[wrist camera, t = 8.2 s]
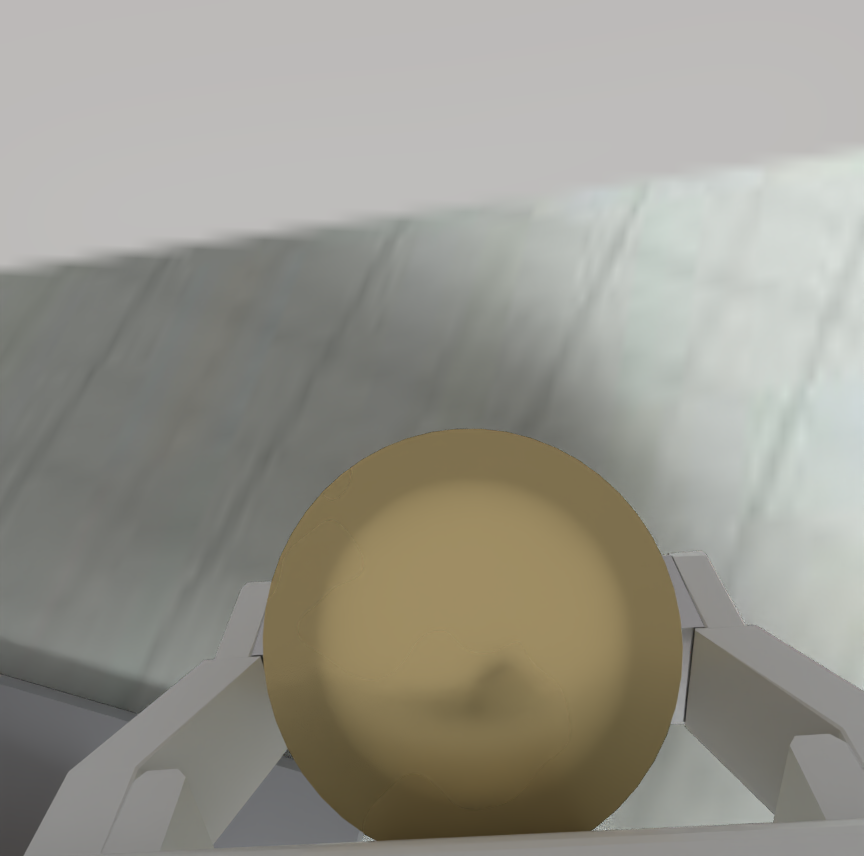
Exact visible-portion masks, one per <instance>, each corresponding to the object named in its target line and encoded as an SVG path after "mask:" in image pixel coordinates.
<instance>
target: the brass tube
mask: <svg viewBox="0 0 864 856" xmlns="http://www.w3.org/2000/svg"><path fill="white" fill-rule="evenodd" d="M682 654H683V643H682V631H681V619H680V614H679V609H678V604H677V599H676V595H675V590H674V587H673V584H672V581H671V578H670V575H669V573H668V570H667V567H666V564H665V561H664V559H663V557H662V555H661V553H660V551H659V549H658V547H657V545H656V543H655V541H654V539H653V537H652V536H651V534H650V533H649V531H648V530H647V528H646V527H645V525H644V524H643V522H642V521H641V519H640V518H639V516H638V514H637V513H636V512H635V511H634V510H633V509H632V507H631V506H630V505H629V504H628V503H627V501H626V500H625V499H624V498H623V497H622V496H621V494H620V493H619V492H618V491H616V490H615V489H614V488H613V487H612V486H611V485H610V484H609V483H608V482H607V481H606V480H604V479H603V478H602V477H601V476H600V475H599V474H597V473H596V472H595V471H593V470H592V469H590V468H589V467H588V466H586V465H585V464H583V463H582V462H581V461H579V460H578V459H576V458H574V457H572V456H570V455H568V454H566V453H565V452H563V451H561V450H559V449H557V448H555V447H553V446H550V445H548V444H545V443H542V442H540V441H537V440H535V439H532V438H529V437H525V436H521V435H517V434H513V433H509V432H503V431H495V430H487V429H452V430H444V431H436V432H430V433H426V434H422V435H418V436H414V437H410V438H407V439H404V440H402V441H399V442H397V443H394V444H392V445H389V446H387V447H384V448H382V449H380V450H379V451H377V452H375V453H373V454H371V455H369V456H368V457H366V458H364V459H362V460H361V461H359V462H358V463H357V464H355V465H354V466H352V467H351V468H350V469H348V470H347V471H345V472H344V473H343V474H341V475H340V476H339V477H338V478H337V479H336V480H335V481H334V482H333V483H332V484H331V485H329V486H328V487H327V488H326V489H325V490H324V491H323V492H322V493H321V494H320V496H319V497H318V498H317V499H316V500H315V501H314V503H313V504H312V505H311V506H310V507H309V509H308V510H307V511H306V512H305V514H304V515H303V517H302V518H301V520H300V521H299V523H298V525H297V526H296V528H295V529H294V531H293V532H292V534H291V536H290V538H289V540H288V542H287V544H286V546H285V548H284V550H283V552H282V554H281V556H280V559H279V561H278V564H277V567H276V570H275V573H274V576H273V579H272V581H271V585H270V590H269V594H268V599H267V604H266V608H265V617H264V628H263V665H264V672H265V678H266V685H267V691H268V696H269V699H270V703H271V706H272V710H273V713H274V717H275V720H276V723H277V725H278V728H279V730H280V732H281V735H282V737H283V739H284V742H285V744H286V746H287V748H288V750H289V752H290V754H291V755H292V757H293V759H294V760H295V762H296V764H297V765H298V767H299V769H300V770H301V772H302V774H303V775H304V776H305V778H306V779H307V780H308V781H309V783H310V784H311V785H312V786H313V788H314V789H315V790H316V791H317V793H318V794H319V795H320V797H321V798H322V799H323V800H324V801H326V802H327V803H328V804H329V805H330V806H331V807H332V808H333V809H334V810H335V811H336V812H337V813H338V814H339V815H340V816H341V817H342V818H343V819H345V820H346V821H347V822H349V823H350V824H352V825H353V826H354V827H356V828H357V829H358V830H360V831H361V832H363V833H364V834H365V835H367V836H369V837H370V838H372V839H374V840H376V841H386V840H408V839H429V838H450V837H472V836H493V835H515V834H536V833H557V832H579V831H591V830H593V829H594V828H596V827H597V826H598V825H599V824H600V823H602V822H603V821H604V820H605V819H606V818H608V817H609V816H610V815H611V814H612V813H614V812H615V811H616V810H617V809H618V808H619V807H620V806H621V805H622V803H623V802H624V801H625V800H626V799H627V798H628V797H629V796H630V795H631V793H632V792H633V791H634V790H635V789H636V788H637V787H638V785H639V784H640V782H641V781H642V779H643V778H644V776H645V775H646V773H647V771H648V770H649V768H650V767H651V765H652V764H653V762H654V761H655V759H656V756H657V754H658V752H659V750H660V748H661V746H662V744H663V742H664V740H665V738H666V736H667V733H668V730H669V727H670V724H671V721H672V717H673V714H674V711H675V708H676V704H677V699H678V693H679V687H680V682H681V675H682Z"/></svg>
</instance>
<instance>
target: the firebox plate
mask: <svg viewBox="0 0 864 856" xmlns="http://www.w3.org/2000/svg"><path fill="white" fill-rule="evenodd" d="M137 715H138V714H136V713H133V712H129V711H126V710H123V709H119V708H116V707H112V706H109V705H105V704H102V703H99V702H95V701H92V700H88V699H85V698H81V697H78V696H75V695H71V694H68V693H64V692H61V691H57V690H54V689H50V688H47V687H44V686H40V685H37V684H33V683H30V682H26V681H23V680H20V679H16V678H13V677H9V676H6V675H2V674H0V856H24V854H25V852H26V850H27V848H28V847H29V845H30V843H31V841H32V839H33V837H34V835H35V833H36V832H37V830H38V828H39V826H40V824H41V822H42V820H43V818H44V817H45V815H46V813H47V811H48V809H49V807H50V805H51V803H52V802H53V800H54V798H55V796H56V794H57V792H58V790H59V788H60V787H61V785H62V783H63V781H64V779H65V777H66V775H67V773H68V772H69V771H70V770H71V769H72V768H74V767H75V766H76V765H77V764H78V763H80V762H81V761H82V760H83V759H85V758H86V757H87V756H88V755H89V754H91V753H92V752H93V751H94V750H95V749H97V748H98V747H99V746H100V745H102V744H103V743H104V742H105V741H106V740H108V739H109V738H110V737H111V736H113V735H114V734H115V733H116V732H117V731H119V730H120V729H121V728H122V727H123V726H125V725H126V724H127V723H128V722H130V721H131V720H132V719H133V718H134V717H136V716H137ZM363 835H364V833H363V832H361V831H360V830H358V829H357V828H356V827H354V826H353V825H352V824H350V823H349V822H347V821H346V820H345V819H343V818H342V817H341V816H340V815H339V814H338V813H337V812H336V811H335V810H334V809H333V808H332V807H331V806H330V805H329V804H328V803H327V802H326V801H324V800H323V799H322V798H321V797H320V795H319V794H318V793H317V791H316V790H315V789H314V788H313V786H312V785H311V784H310V783H309V781H308V780H307V779H306V778H305V776H304V775H303V774H302V772H301V770H300V769H299V767H298V765H297V764H296V762H295V760H294V759H291V758H288V757H284V756H282V757H281V758H280V760H279V761H278V762H277V763H276V765H275V766H274V767H273V769H272V770H271V771H270V772H269V774H268V775H267V776H266V778H265V779H264V780H263V781H262V783H261V784H260V785H259V786H258V788H257V789H256V790H255V792H254V793H253V794H252V795H251V797H250V798H249V799H248V801H247V802H246V803H245V804H244V806H243V807H242V808H241V810H240V811H239V812H238V813H237V815H236V816H235V817H234V819H233V820H232V821H231V822H230V824H229V825H228V826H227V828H226V829H225V830H224V831H223V833H222V834H221V835H220V836H219V838H218V839H217V840H216V842H215V843H214V844H213V846H214V849H216V848H237V847H259V846H280V845H301V844H322V843H344V842H362V839H363Z"/></svg>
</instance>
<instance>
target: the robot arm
mask: <svg viewBox="0 0 864 856" xmlns="http://www.w3.org/2000/svg"><path fill="white" fill-rule="evenodd" d="M662 557H663V559H664V561H665V564H666V567H667V570H668V573H669V575H670V578H671V581H672V584H673V587H674V590H675V595H676V599H677V604H678V609H679V614H680V619H681V631H682V643H683V654H682V675H681V682H680V687H679V693H678V699H677V704H676V708H675V711H674V714H673V717H672V721H671V724H685V727H686V728H687V729H688V730H689V731H690V732H691V733H692V734H693V735H694V736H695V737H696V738H697V739H698V740H699V741H700V742H701V743H702V744H703V745H704V746H705V747H706V748H707V749H708V750H709V751H710V752H711V753H712V754H713V755H714V756H715V757H716V758H717V759H718V760H719V761H720V762H721V763H722V764H723V765H724V766H725V767H726V768H727V769H728V770H729V771H730V772H731V773H732V774H733V775H734V776H735V777H736V778H738V779H739V780H740V781H741V782H742V783H743V784H744V785H745V786H746V787H747V788H748V789H749V790H750V791H751V792H752V793H753V794H754V795H755V796H756V797H757V798H758V799H759V800H760V801H761V802H762V803H763V804H764V805H765V806H766V807H767V808H768V809H769V810H770V811H771V812H772V813H773V814H774V815H775V816H774V820H773V822H770V823H749V824H728V825H707V826H685V827H664V828H643V829H621V830H600V831H579V832H557V833H536V834H515V835H493V836H472V837H450V838H429V839H408V840H386V841H365V842H344V843H322V844H301V845H280V846H259V847H237V848H216V849H214V846H213V844H214V843H215V842H216V840H217V839H218V838H219V836H220V835H221V834H222V833H223V831H224V830H225V829H226V828H227V826H228V825H229V824H230V822H231V821H232V820H233V819H234V817H235V816H236V815H237V813H238V812H239V811H240V810H241V808H242V807H243V806H244V804H245V803H246V802H247V801H248V799H249V798H250V797H251V795H252V794H253V793H254V792H255V790H256V789H257V788H258V786H259V785H260V784H261V783H262V781H263V780H264V779H265V778H266V776H267V775H268V774H269V772H270V771H271V770H272V769H273V767H274V766H275V765H276V763H277V762H278V761H279V760H280V758H281V757H282V756H283V754H284V753H285V752H286V751H287V746H286V744H285V742H284V739H283V737H282V735H281V732H280V730H279V728H278V725H277V723H276V720H275V717H274V713H273V710H272V706H271V703H270V699H269V696H268V691H267V685H266V678H265V672H264V665H263V628H264V617H265V608H266V604H267V599H268V594H269V590H270V585H271V581H263V582H247V583H246V584H245V585H244V586H243V587H242V588H241V590H240V593H239V596H238V598H237V601H236V603H235V606H234V608H233V611H232V614H231V616H230V619H229V621H228V624H227V626H226V629H225V632H224V634H223V637H222V639H221V642H220V644H219V647H218V650H217V652H216V655H215V657H214V659H209V660H204V661H202V662H201V663H200V664H199V665H198V666H196V667H195V668H194V669H193V670H191V671H190V672H189V673H188V674H187V675H185V676H184V677H183V678H182V679H181V680H179V681H178V682H177V683H176V684H174V685H173V686H172V687H171V688H170V689H168V690H167V691H166V692H165V693H164V694H162V695H161V696H160V697H159V698H157V699H156V700H155V701H154V702H153V703H151V704H150V705H149V706H148V707H147V708H145V709H144V710H143V711H142V712H140V713H139V714H138V715H137V716H136V717H134V718H133V719H132V720H131V721H130V722H128V723H127V724H126V725H125V726H123V727H122V728H121V729H120V730H119V731H117V732H116V733H115V734H114V735H113V736H111V737H110V738H109V739H108V740H106V741H105V742H104V743H103V744H102V745H100V746H99V747H98V748H97V749H95V750H94V751H93V752H92V753H91V754H89V755H88V756H87V757H86V758H85V759H83V760H82V761H81V762H80V763H78V764H77V765H76V766H75V767H74V768H72V769H71V770H70V771H69V772H68V773H67V775H66V777H65V779H64V781H63V783H62V785H61V787H60V788H59V790H58V792H57V794H56V796H55V798H54V800H53V802H52V803H51V805H50V807H49V809H48V811H47V813H46V815H45V817H44V818H43V820H42V822H41V824H40V826H39V828H38V830H37V832H36V833H35V835H34V837H33V839H32V841H31V843H30V845H29V847H28V848H27V850H26V852H25V854H24V856H864V691H863V690H861V689H859V688H858V687H856V686H854V685H853V684H851V683H850V682H848V681H846V680H845V679H843V678H841V677H840V676H838V675H837V674H835V673H833V672H832V671H830V670H828V669H827V668H825V667H823V666H822V665H820V664H819V663H817V662H815V661H814V660H812V659H810V658H809V657H807V656H806V655H804V654H802V653H801V652H799V651H797V650H796V649H794V648H793V647H791V646H789V645H788V644H786V643H784V642H783V641H781V640H780V639H778V638H776V637H775V636H773V635H771V634H770V633H768V632H767V631H765V630H763V629H762V628H760V627H758V626H757V625H745V623H744V622H743V620H742V618H741V616H740V614H739V612H738V611H737V609H736V607H735V605H734V603H733V602H732V600H731V598H730V596H729V594H728V592H727V591H726V589H725V587H724V585H723V583H722V582H721V580H720V578H719V576H718V574H717V572H716V571H715V569H714V567H713V565H712V563H711V562H710V560H709V558H708V556H707V554H705V553H704V552H702V551H691V552H680V553H669V554H668V555H662Z"/></svg>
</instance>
